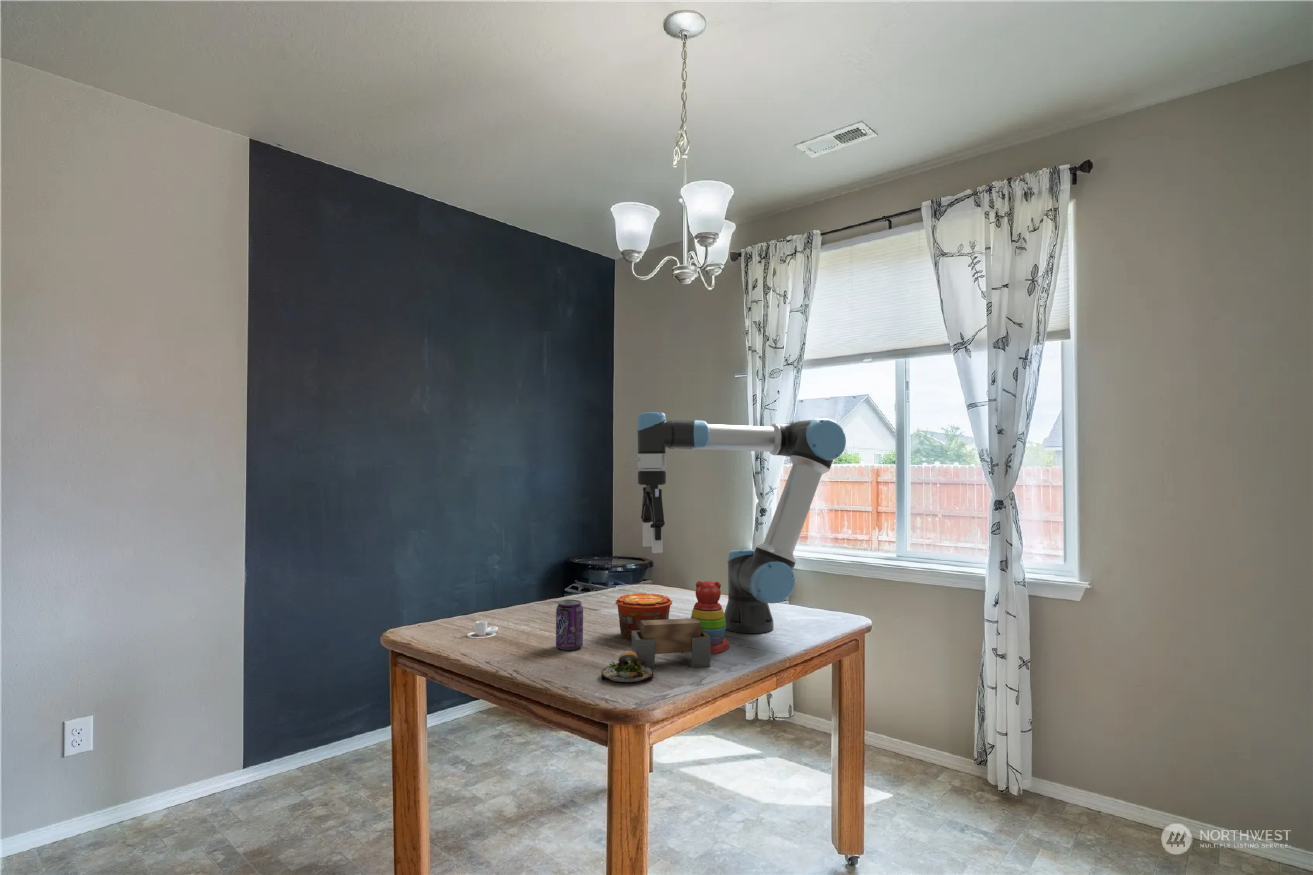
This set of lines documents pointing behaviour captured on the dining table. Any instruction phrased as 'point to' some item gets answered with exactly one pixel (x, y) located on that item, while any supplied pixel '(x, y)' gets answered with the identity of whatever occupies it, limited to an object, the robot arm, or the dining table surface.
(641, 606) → the food container
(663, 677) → the dining table surface
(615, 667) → the burger
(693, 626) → the walnut rail
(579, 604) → the beverage can
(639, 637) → the cup bracket
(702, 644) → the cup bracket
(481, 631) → the teacup and saucer
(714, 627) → the stacking bear
